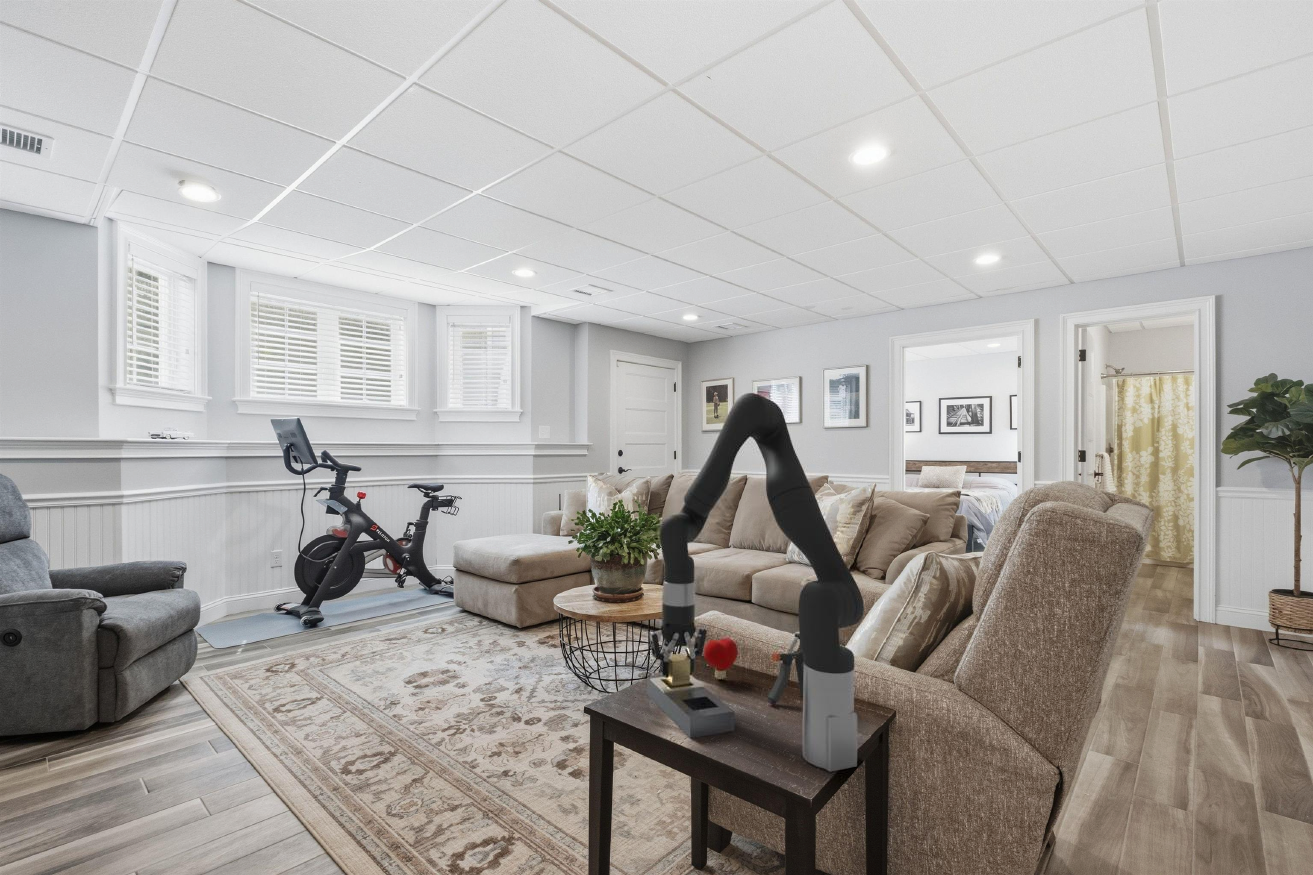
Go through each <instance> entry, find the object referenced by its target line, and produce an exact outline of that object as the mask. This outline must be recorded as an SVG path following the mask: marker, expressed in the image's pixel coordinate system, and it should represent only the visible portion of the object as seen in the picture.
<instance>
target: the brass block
mask: <svg viewBox="0 0 1313 875" xmlns="http://www.w3.org/2000/svg"><path fill="white" fill-rule="evenodd" d="M668 661H669V677H668V678H664V683H665V684H666V685H667V686H668V687H669V688H678V687H686V686H690V659H689V658H688V657H687V655H685V654H683V653H676V654H675V653H674V654H673V653H672V654H670V657H669V659H668Z"/></svg>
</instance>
